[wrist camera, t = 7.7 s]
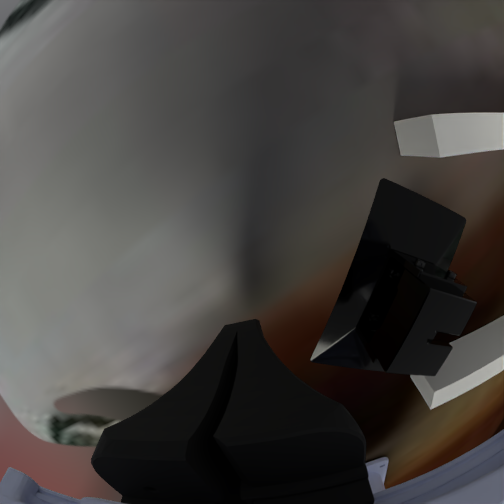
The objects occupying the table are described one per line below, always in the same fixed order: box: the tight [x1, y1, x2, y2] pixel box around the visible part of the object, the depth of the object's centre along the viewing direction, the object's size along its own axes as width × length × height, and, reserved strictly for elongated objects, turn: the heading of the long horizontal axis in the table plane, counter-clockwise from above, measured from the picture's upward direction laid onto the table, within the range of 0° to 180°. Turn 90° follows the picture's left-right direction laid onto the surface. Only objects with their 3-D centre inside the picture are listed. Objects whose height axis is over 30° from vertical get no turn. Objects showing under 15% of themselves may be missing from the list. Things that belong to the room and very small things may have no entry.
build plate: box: [311, 178, 477, 376], centre depth 11 cm, size 12×7×5 cm, turn 164°
